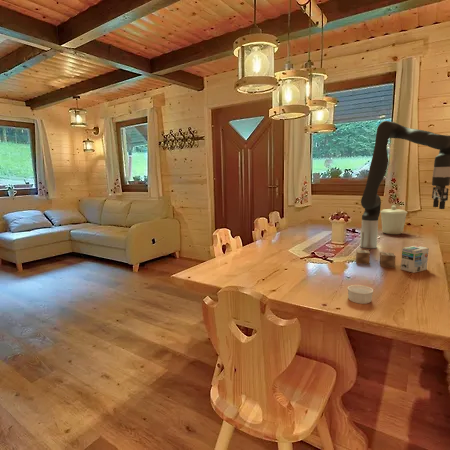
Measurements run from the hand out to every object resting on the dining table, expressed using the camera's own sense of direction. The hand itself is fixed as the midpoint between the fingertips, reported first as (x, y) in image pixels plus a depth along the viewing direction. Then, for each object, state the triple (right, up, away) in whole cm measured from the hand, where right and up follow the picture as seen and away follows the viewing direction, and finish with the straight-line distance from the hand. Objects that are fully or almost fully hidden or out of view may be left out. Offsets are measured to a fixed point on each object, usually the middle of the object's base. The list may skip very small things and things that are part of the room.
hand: (438, 208), depth 160 cm
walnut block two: (-38, -28, +3) cm, 47 cm away
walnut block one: (-28, -29, -3) cm, 41 cm away
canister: (+17, -15, +76) cm, 79 cm away
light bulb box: (-19, -30, -10) cm, 37 cm away
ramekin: (-59, -37, -44) cm, 82 cm away
